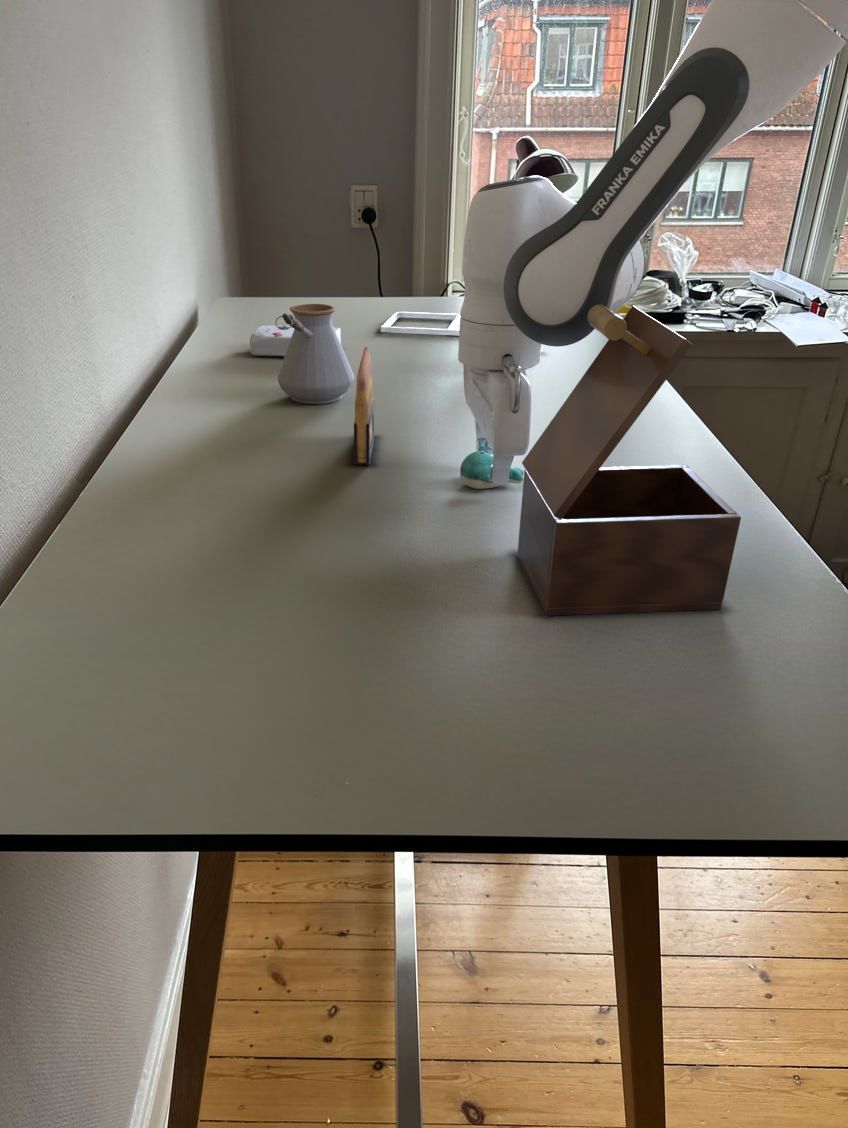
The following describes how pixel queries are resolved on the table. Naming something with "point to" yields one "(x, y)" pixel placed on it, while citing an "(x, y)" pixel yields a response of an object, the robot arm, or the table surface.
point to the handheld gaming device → (273, 340)
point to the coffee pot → (314, 357)
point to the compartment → (630, 543)
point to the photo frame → (451, 330)
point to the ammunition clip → (364, 412)
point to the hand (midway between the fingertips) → (491, 467)
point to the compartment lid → (603, 403)
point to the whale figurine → (484, 471)
